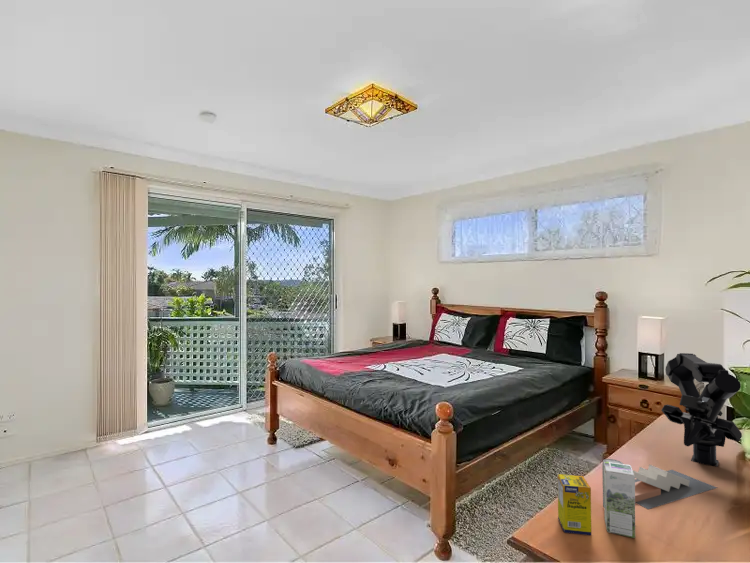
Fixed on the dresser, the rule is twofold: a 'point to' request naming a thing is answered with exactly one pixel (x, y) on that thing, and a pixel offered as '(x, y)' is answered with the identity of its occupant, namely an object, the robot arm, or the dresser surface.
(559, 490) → the supplement box
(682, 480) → the domino
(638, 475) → the domino
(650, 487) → the end domino
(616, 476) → the syrup box
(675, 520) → the dresser surface
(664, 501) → the domino mat
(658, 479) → the domino
